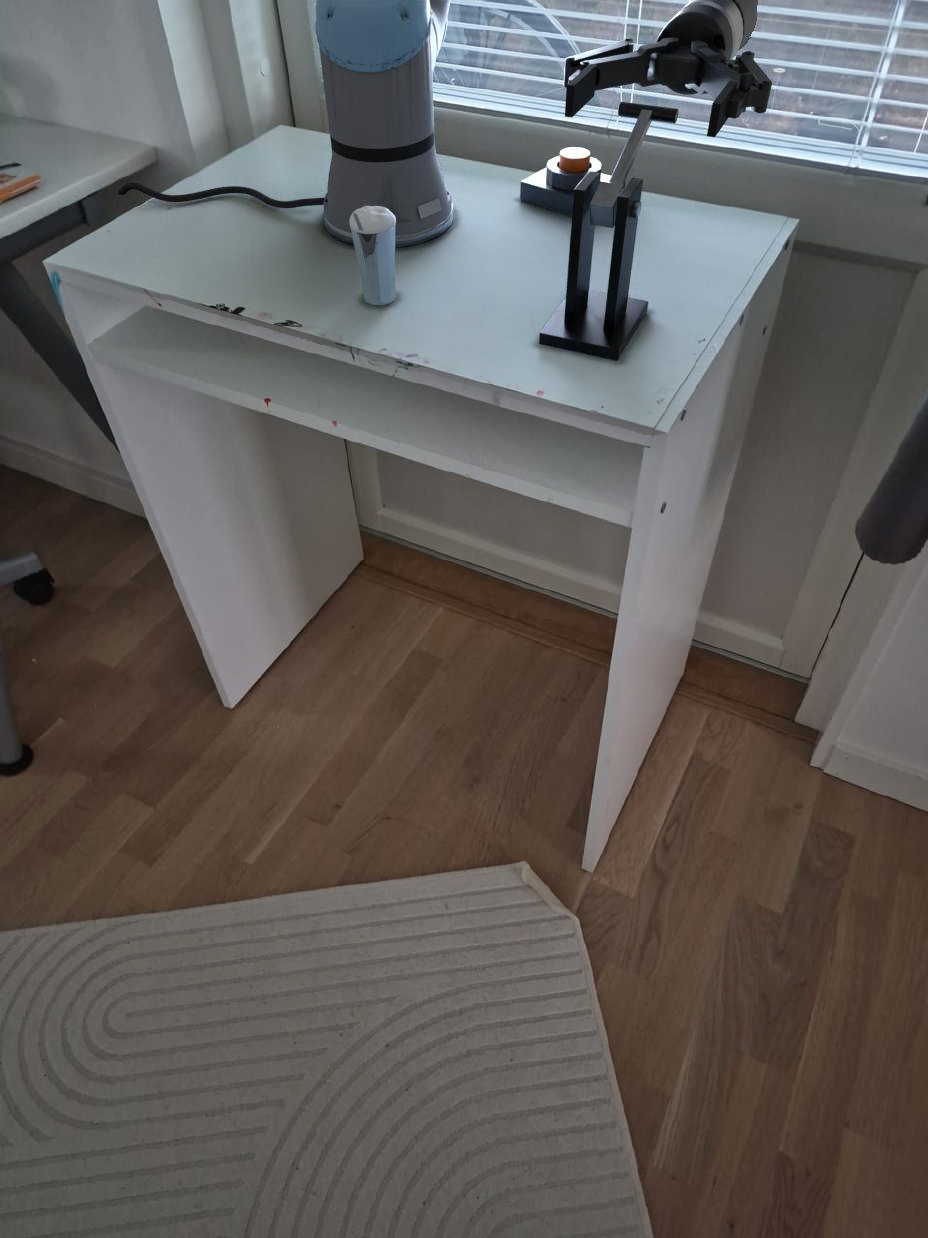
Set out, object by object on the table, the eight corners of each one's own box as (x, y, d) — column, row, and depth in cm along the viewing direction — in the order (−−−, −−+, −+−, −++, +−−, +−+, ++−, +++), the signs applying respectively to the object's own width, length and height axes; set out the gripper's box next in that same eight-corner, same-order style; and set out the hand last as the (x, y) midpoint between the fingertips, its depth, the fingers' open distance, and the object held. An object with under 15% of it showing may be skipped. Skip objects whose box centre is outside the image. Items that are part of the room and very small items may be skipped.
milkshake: (345, 307, 91) (333, 208, 84) (371, 284, 95) (362, 187, 87) (384, 316, 90) (375, 217, 83) (409, 292, 93) (402, 195, 86)
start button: (553, 169, 106) (553, 153, 104) (570, 159, 107) (571, 144, 106) (578, 176, 104) (579, 160, 103) (594, 166, 106) (596, 151, 105)
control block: (519, 199, 108) (520, 165, 106) (557, 178, 113) (559, 145, 110) (587, 220, 104) (590, 185, 101) (624, 198, 108) (628, 163, 105)
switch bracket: (572, 297, 92) (583, 156, 82) (647, 311, 90) (668, 169, 80) (538, 344, 86) (546, 198, 76) (617, 361, 84) (636, 213, 73)
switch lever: (621, 115, 85) (621, 92, 83) (677, 123, 83) (679, 99, 81) (572, 221, 80) (571, 200, 78) (631, 231, 79) (631, 209, 77)
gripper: (809, 98, 93) (768, 173, 80) (583, 71, 100) (512, 136, 87) (829, 14, 87) (789, 80, 74) (589, -9, 94) (514, 48, 81)
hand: (639, 110), depth 80 cm, fingers open, 13 cm apart
